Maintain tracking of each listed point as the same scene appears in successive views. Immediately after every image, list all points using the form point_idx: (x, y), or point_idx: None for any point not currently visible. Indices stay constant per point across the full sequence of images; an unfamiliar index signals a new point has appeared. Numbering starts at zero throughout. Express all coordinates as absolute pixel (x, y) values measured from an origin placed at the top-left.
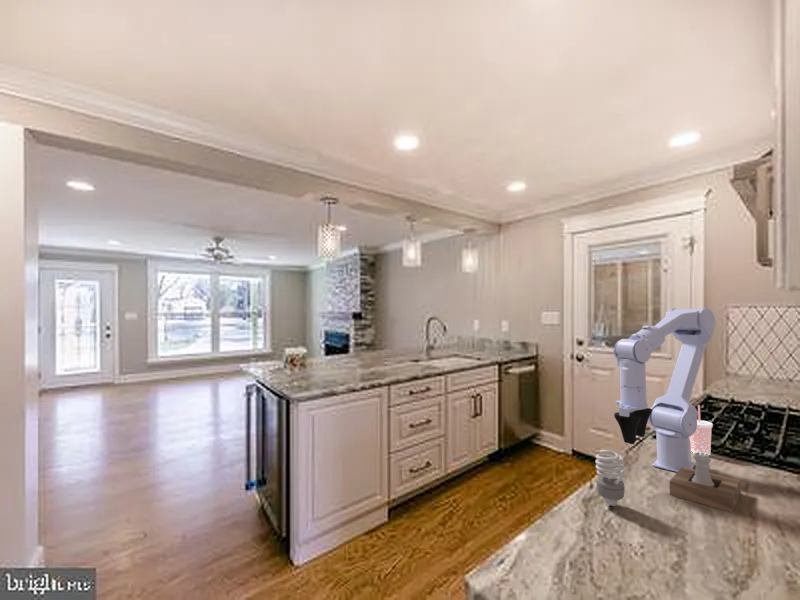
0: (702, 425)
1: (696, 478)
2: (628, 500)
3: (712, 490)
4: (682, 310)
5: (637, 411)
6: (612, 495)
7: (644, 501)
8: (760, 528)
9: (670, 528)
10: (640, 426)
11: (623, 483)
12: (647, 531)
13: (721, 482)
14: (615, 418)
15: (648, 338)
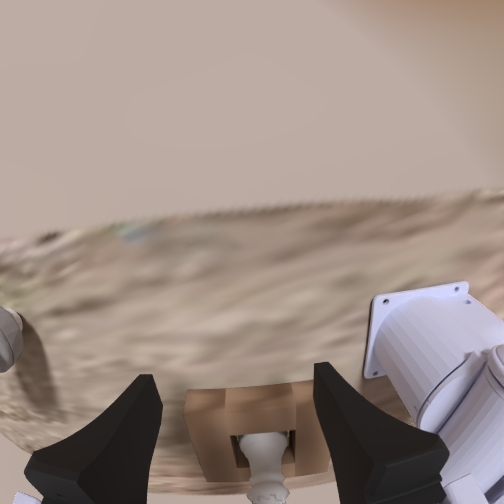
0: None
1: (248, 448)
2: (67, 335)
3: (213, 465)
4: None
5: (357, 496)
6: None
7: (96, 361)
8: (184, 479)
9: (53, 406)
10: (329, 427)
11: (5, 371)
12: (15, 382)
13: (282, 464)
14: (40, 449)
15: None
